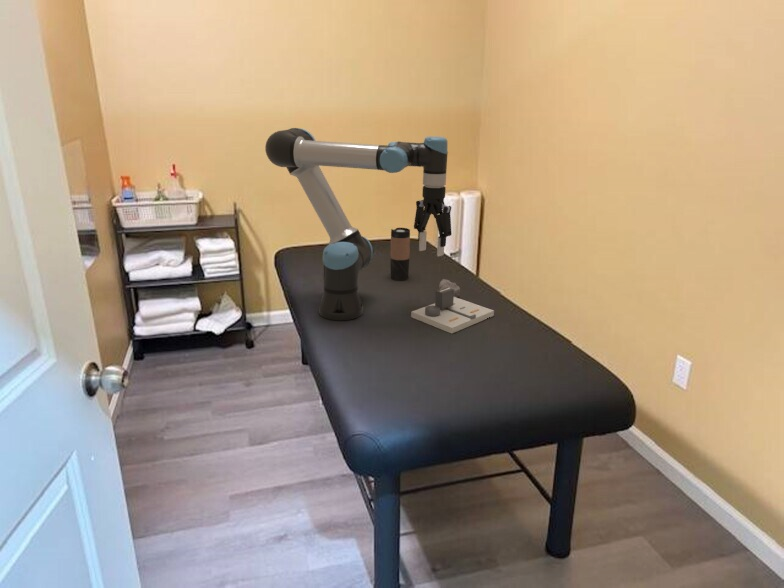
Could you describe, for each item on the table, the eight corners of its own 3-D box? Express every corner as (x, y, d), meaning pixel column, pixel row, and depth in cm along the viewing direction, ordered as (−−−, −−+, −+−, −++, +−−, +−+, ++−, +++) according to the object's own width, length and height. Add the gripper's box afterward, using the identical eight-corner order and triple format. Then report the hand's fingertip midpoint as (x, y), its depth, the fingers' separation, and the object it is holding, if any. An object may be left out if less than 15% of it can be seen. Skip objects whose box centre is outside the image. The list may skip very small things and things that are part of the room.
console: (451, 333, 181) (452, 322, 180) (411, 317, 194) (411, 306, 192) (493, 315, 196) (494, 305, 194) (453, 301, 208) (453, 291, 207)
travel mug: (408, 281, 228) (410, 232, 221) (389, 280, 228) (390, 232, 221) (408, 275, 236) (410, 227, 229) (390, 274, 236) (391, 227, 229)
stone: (443, 302, 207) (444, 287, 205) (430, 294, 216) (431, 279, 214) (462, 299, 210) (463, 284, 208) (449, 291, 219) (450, 276, 217)
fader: (441, 309, 194) (442, 292, 191) (435, 307, 196) (435, 290, 193) (453, 305, 197) (454, 288, 195) (446, 303, 199) (447, 286, 197)
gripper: (465, 188, 183) (461, 257, 191) (419, 180, 196) (417, 244, 204) (450, 191, 178) (446, 261, 186) (404, 182, 191) (402, 248, 199)
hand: (431, 252), depth 195 cm, fingers open, 8 cm apart
